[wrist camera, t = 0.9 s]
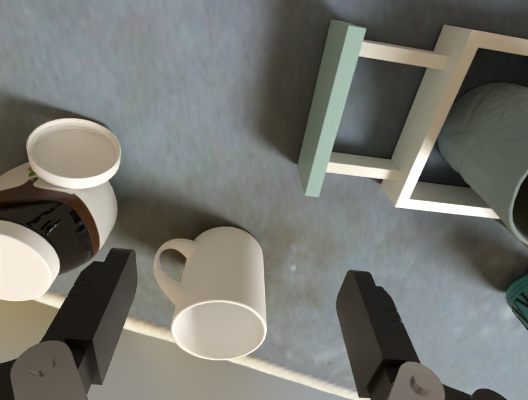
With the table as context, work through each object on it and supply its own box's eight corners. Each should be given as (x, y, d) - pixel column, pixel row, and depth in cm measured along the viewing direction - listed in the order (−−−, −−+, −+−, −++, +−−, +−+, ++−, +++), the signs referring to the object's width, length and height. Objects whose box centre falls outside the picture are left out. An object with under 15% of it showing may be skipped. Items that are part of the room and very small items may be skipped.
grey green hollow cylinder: (466, 189, 35) (554, 269, 25) (405, 136, 32) (478, 205, 22) (558, 114, 31) (707, 174, 21) (499, 43, 28) (644, 74, 17)
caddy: (334, 4, 25) (353, 7, 21) (607, 54, 28) (677, 67, 24) (295, 175, 33) (302, 205, 29) (511, 201, 36) (549, 232, 31)
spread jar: (39, 220, 35) (-42, 309, 26) (-14, 117, 29) (-145, 181, 20) (151, 214, 36) (113, 300, 26) (122, 110, 29) (58, 170, 20)
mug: (188, 194, 34) (165, 267, 25) (277, 246, 39) (286, 325, 30) (149, 246, 38) (117, 326, 29) (235, 288, 42) (231, 370, 33)
